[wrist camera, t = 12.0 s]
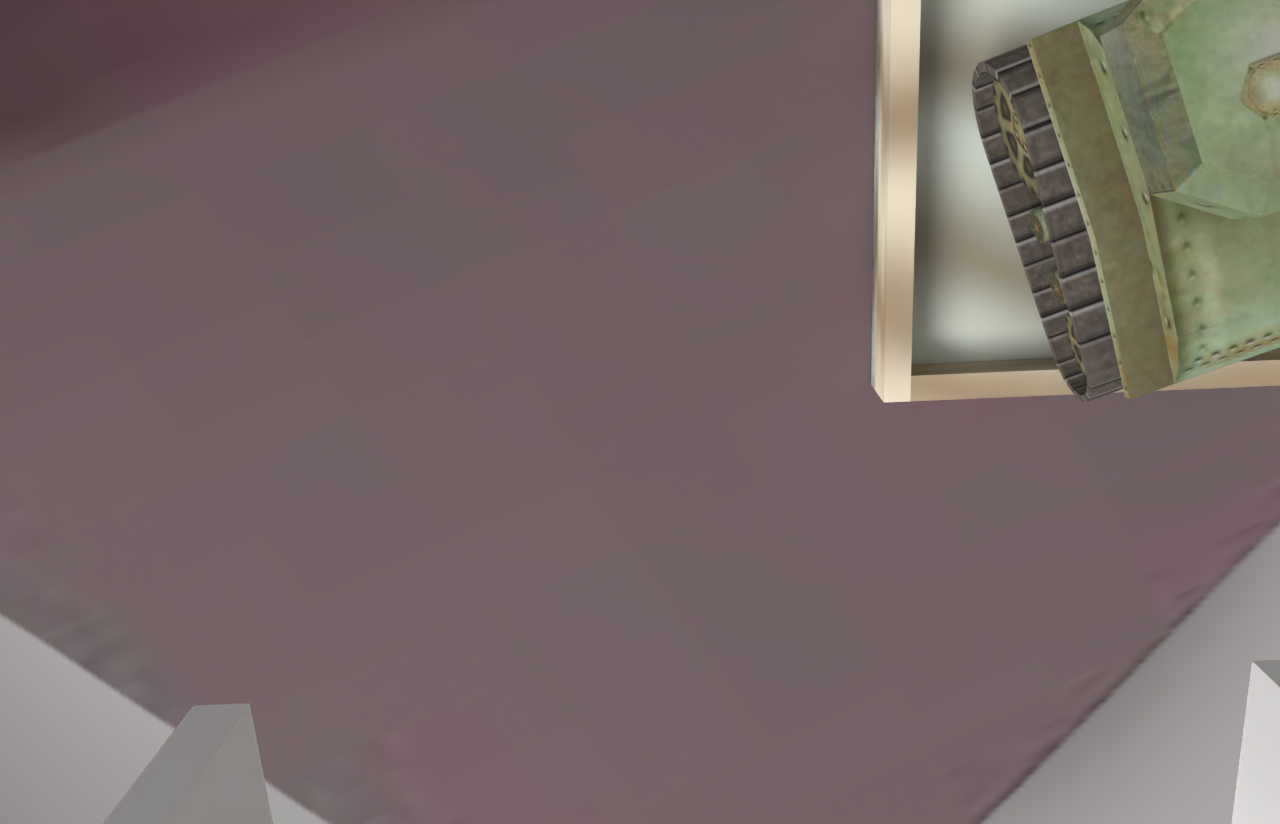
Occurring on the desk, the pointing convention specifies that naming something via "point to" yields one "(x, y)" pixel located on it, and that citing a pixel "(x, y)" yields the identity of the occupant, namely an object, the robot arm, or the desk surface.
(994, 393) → the beige tray
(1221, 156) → the toy
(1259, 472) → the desk surface
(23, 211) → the desk surface
